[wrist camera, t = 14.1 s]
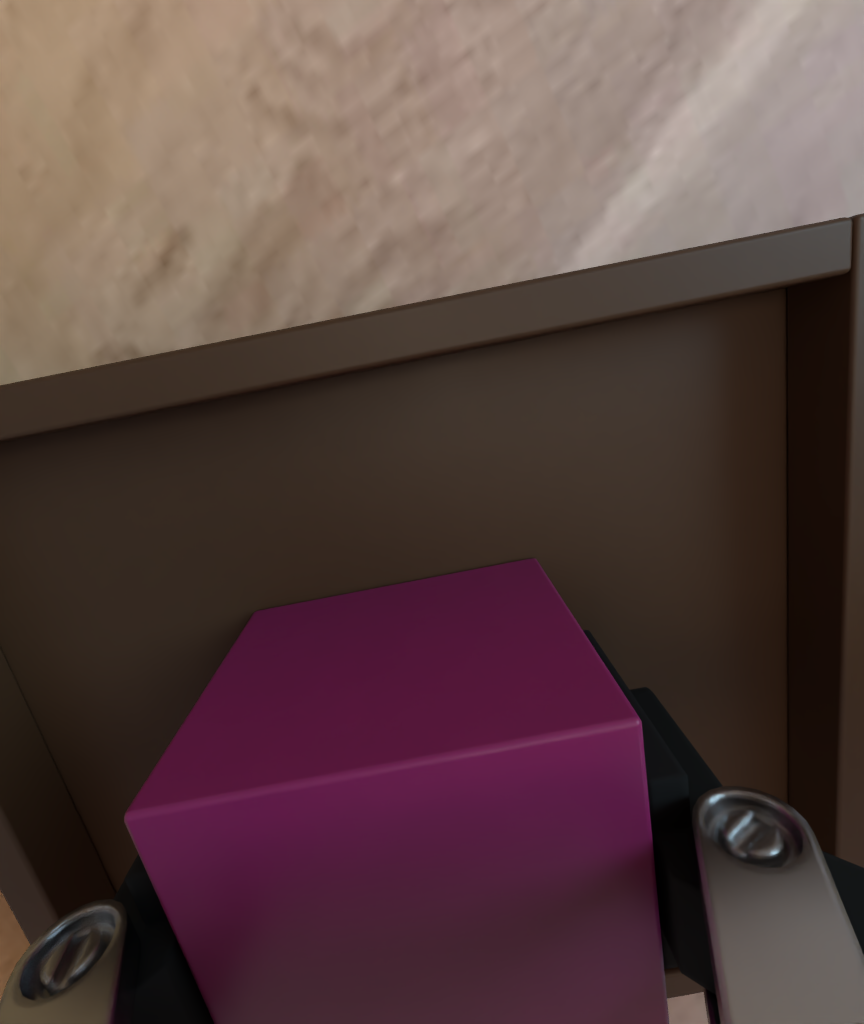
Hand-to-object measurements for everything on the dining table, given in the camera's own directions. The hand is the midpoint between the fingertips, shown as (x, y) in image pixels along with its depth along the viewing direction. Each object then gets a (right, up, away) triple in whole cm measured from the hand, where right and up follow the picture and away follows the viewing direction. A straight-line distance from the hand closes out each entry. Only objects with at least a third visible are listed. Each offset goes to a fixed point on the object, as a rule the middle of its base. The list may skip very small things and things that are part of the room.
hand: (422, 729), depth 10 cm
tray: (0, 0, +1) cm, 1 cm away
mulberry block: (0, 0, +1) cm, 1 cm away
